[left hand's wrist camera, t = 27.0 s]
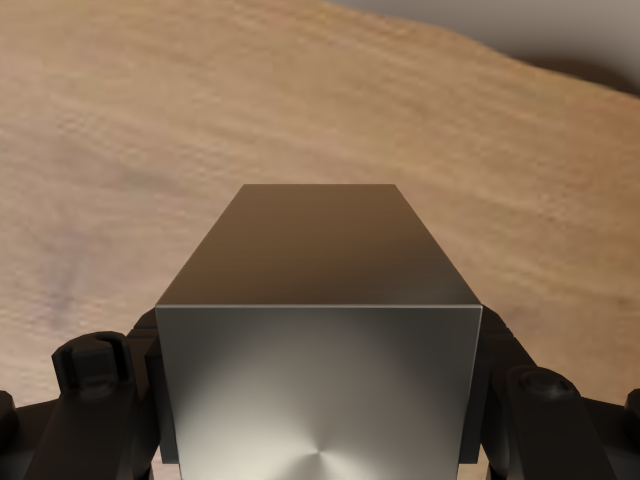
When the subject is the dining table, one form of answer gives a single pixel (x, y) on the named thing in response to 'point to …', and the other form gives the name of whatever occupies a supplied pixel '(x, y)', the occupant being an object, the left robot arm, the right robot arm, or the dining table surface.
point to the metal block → (318, 341)
